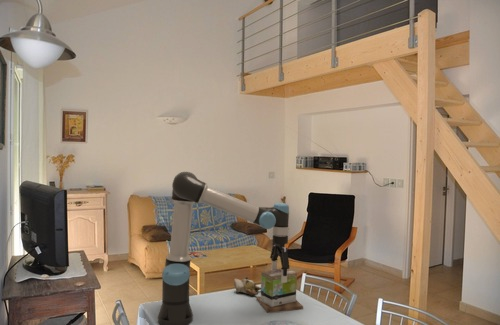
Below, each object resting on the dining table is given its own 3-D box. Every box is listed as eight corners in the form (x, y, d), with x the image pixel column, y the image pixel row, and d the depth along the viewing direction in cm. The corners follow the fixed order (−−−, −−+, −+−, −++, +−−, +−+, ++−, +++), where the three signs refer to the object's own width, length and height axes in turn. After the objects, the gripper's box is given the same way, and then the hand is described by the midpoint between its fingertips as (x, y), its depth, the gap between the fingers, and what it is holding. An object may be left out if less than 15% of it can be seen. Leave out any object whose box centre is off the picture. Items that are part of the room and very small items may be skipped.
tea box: (272, 308, 188) (273, 276, 188) (259, 301, 197) (260, 271, 196) (296, 301, 197) (297, 271, 197) (283, 295, 205) (284, 266, 205)
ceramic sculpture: (237, 272, 219) (264, 276, 215) (236, 288, 220) (263, 292, 215) (231, 278, 209) (258, 283, 205) (230, 294, 209) (257, 299, 205)
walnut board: (267, 312, 186) (267, 309, 186) (256, 299, 203) (256, 296, 203) (303, 309, 192) (303, 306, 192) (289, 296, 208) (289, 293, 208)
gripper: (297, 240, 186) (295, 285, 186) (278, 230, 209) (277, 270, 210) (282, 240, 183) (280, 286, 184) (264, 230, 207) (263, 271, 208)
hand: (278, 278), depth 197 cm, fingers open, 13 cm apart
